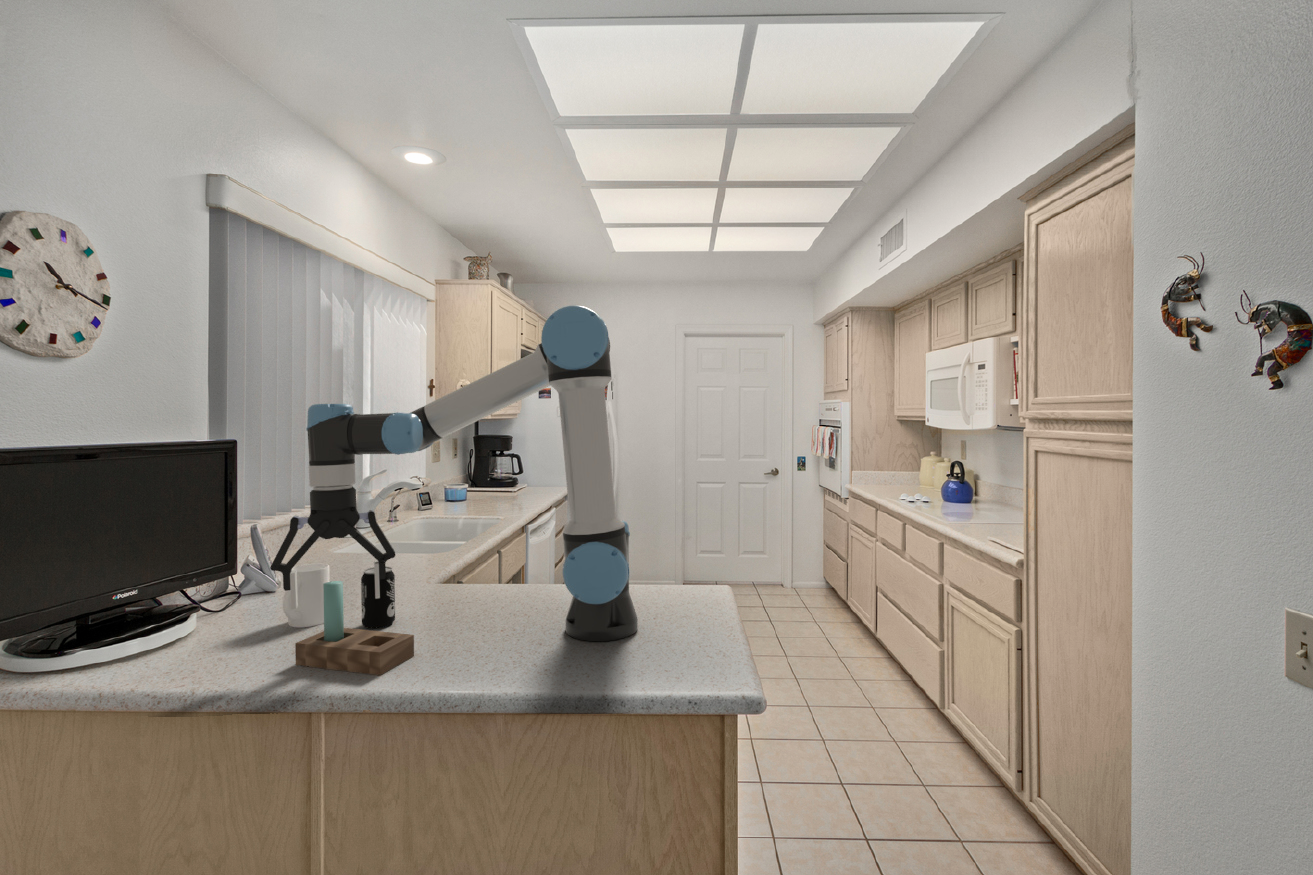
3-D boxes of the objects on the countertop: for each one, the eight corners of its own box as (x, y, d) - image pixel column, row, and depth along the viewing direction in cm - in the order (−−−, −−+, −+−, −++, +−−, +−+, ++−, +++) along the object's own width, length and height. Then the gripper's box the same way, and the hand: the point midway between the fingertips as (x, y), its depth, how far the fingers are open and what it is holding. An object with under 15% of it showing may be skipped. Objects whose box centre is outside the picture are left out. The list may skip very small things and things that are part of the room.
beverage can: (382, 630, 127) (381, 573, 126) (354, 628, 128) (354, 572, 128) (401, 620, 133) (400, 566, 133) (375, 618, 134) (374, 565, 134)
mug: (265, 633, 125) (264, 576, 125) (302, 615, 137) (301, 563, 137) (304, 634, 125) (303, 576, 124) (337, 616, 137) (336, 563, 136)
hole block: (414, 655, 113) (413, 634, 112) (380, 675, 104) (380, 652, 104) (334, 647, 117) (334, 626, 117) (295, 665, 108) (295, 643, 108)
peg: (348, 655, 113) (347, 581, 112) (334, 662, 110) (333, 586, 109) (334, 654, 114) (333, 580, 113) (320, 660, 111) (319, 584, 110)
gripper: (405, 481, 120) (408, 587, 120) (256, 490, 109) (260, 606, 110) (407, 484, 113) (410, 597, 113) (248, 494, 102) (253, 618, 103)
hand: (337, 602), depth 111 cm, fingers open, 13 cm apart
